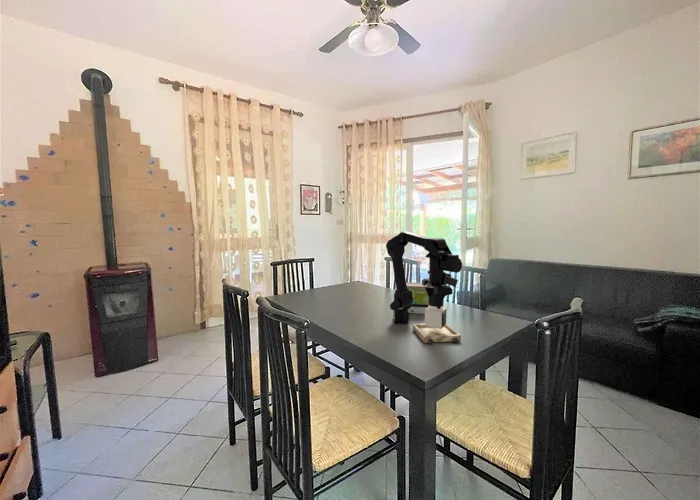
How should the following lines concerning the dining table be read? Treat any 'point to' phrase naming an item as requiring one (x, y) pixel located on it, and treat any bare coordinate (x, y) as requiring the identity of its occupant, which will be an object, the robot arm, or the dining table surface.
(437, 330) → the trolley
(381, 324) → the dining table surface
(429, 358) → the dining table surface
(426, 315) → the medicine bottle
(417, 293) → the tea box
